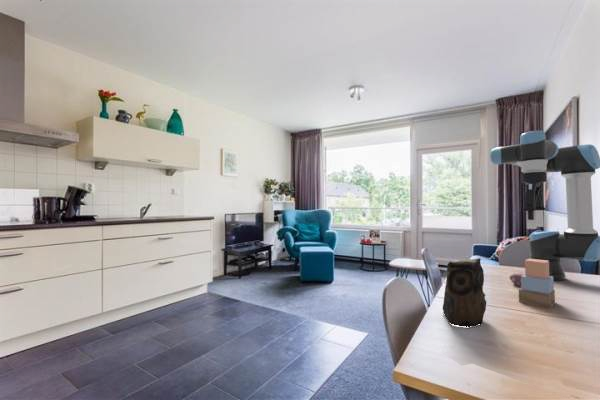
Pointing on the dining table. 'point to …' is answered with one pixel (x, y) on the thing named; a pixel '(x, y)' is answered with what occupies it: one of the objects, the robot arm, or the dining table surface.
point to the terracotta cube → (537, 268)
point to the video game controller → (516, 279)
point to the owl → (464, 293)
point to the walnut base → (537, 298)
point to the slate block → (537, 284)
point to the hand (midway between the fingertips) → (535, 227)
